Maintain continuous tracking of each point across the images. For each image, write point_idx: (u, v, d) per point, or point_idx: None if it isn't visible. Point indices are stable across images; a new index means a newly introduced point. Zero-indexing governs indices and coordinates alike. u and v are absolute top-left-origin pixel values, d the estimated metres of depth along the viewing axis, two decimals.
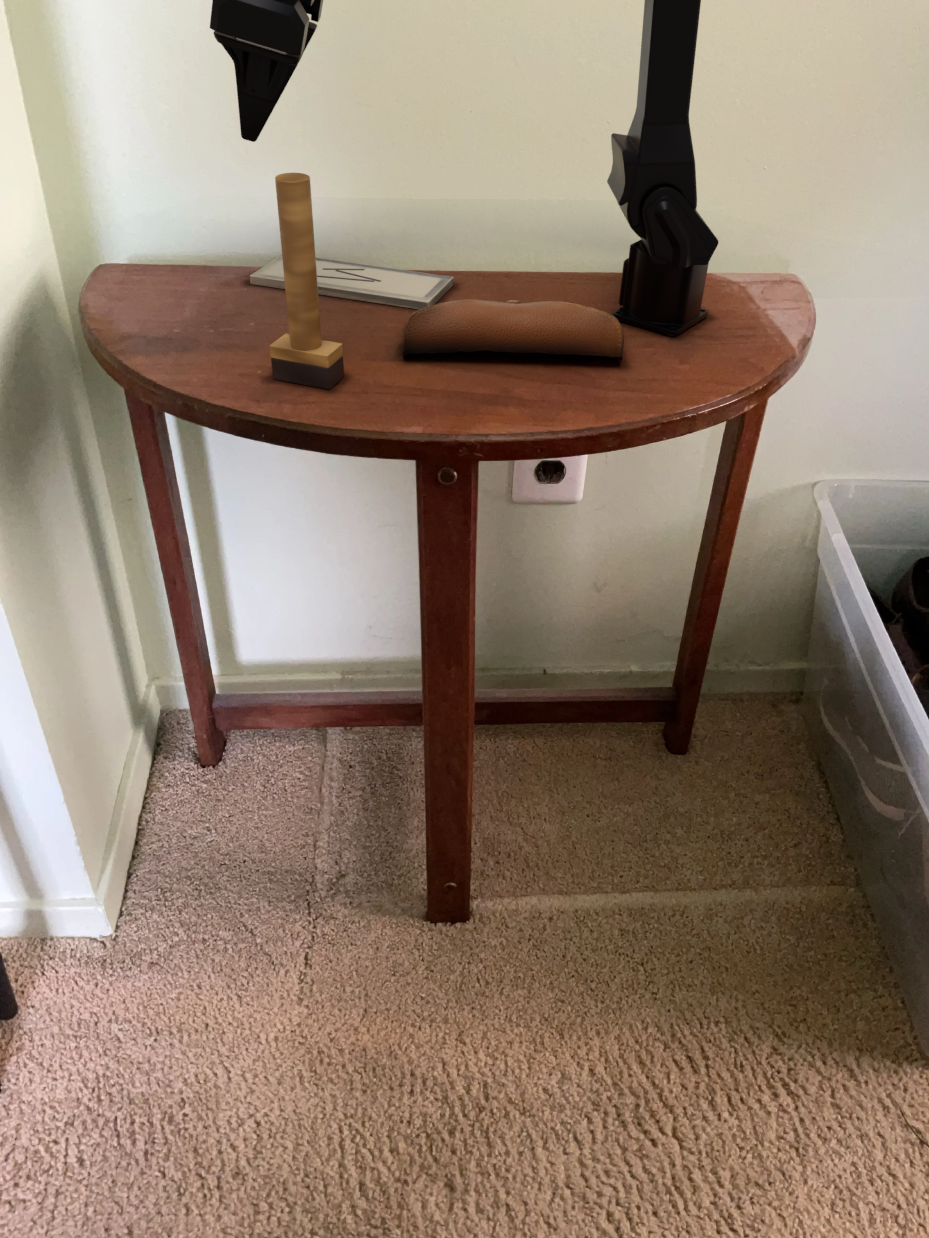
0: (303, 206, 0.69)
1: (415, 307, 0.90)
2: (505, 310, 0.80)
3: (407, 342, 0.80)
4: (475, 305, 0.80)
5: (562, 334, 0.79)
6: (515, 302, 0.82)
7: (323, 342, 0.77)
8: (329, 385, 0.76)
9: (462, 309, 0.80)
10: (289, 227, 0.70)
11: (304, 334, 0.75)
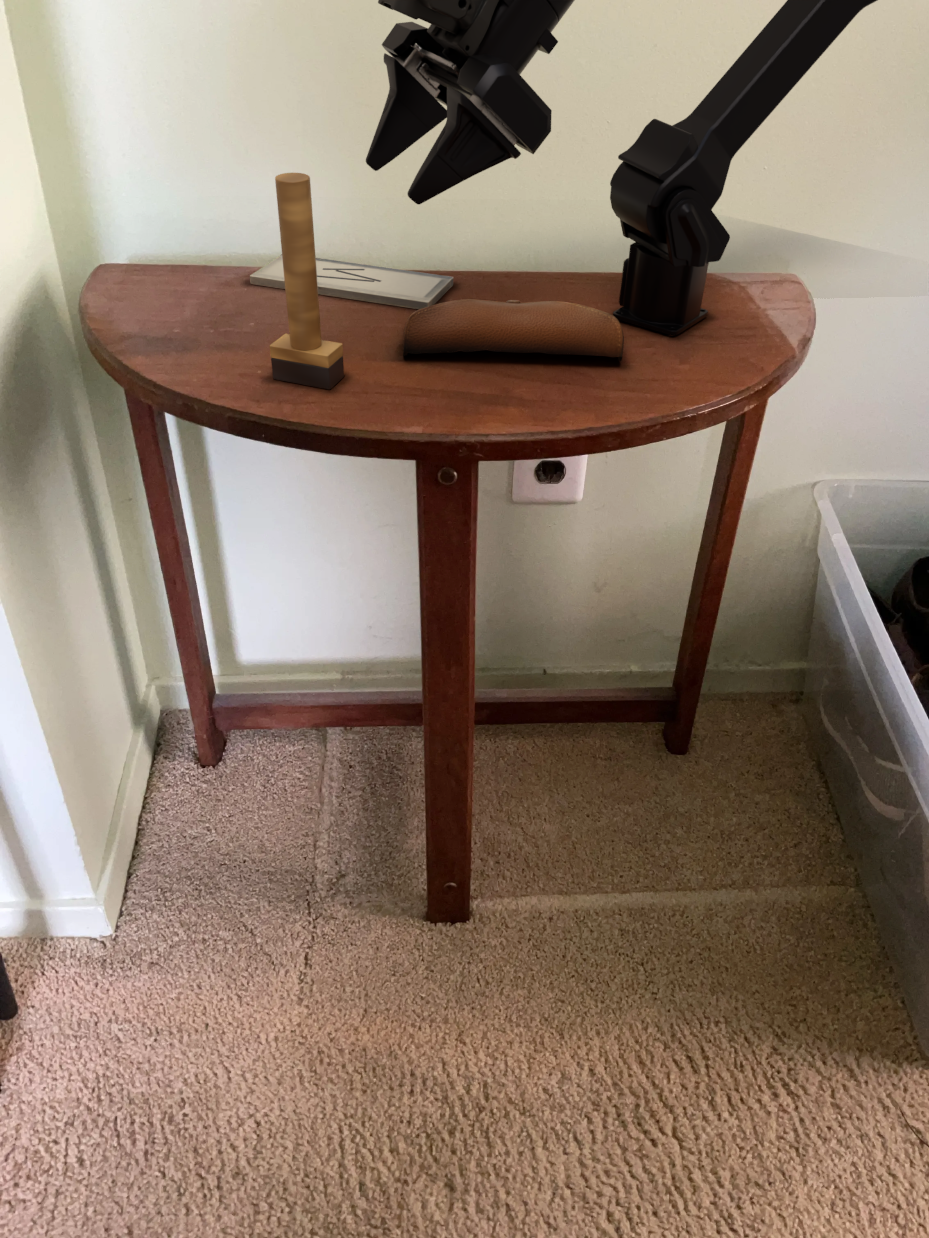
0: (303, 206, 0.69)
1: (415, 307, 0.90)
2: (505, 310, 0.80)
3: (407, 342, 0.80)
4: (475, 305, 0.80)
5: (562, 334, 0.79)
6: (515, 302, 0.82)
7: (323, 342, 0.77)
8: (329, 385, 0.76)
9: (462, 309, 0.80)
10: (289, 227, 0.70)
11: (304, 334, 0.75)
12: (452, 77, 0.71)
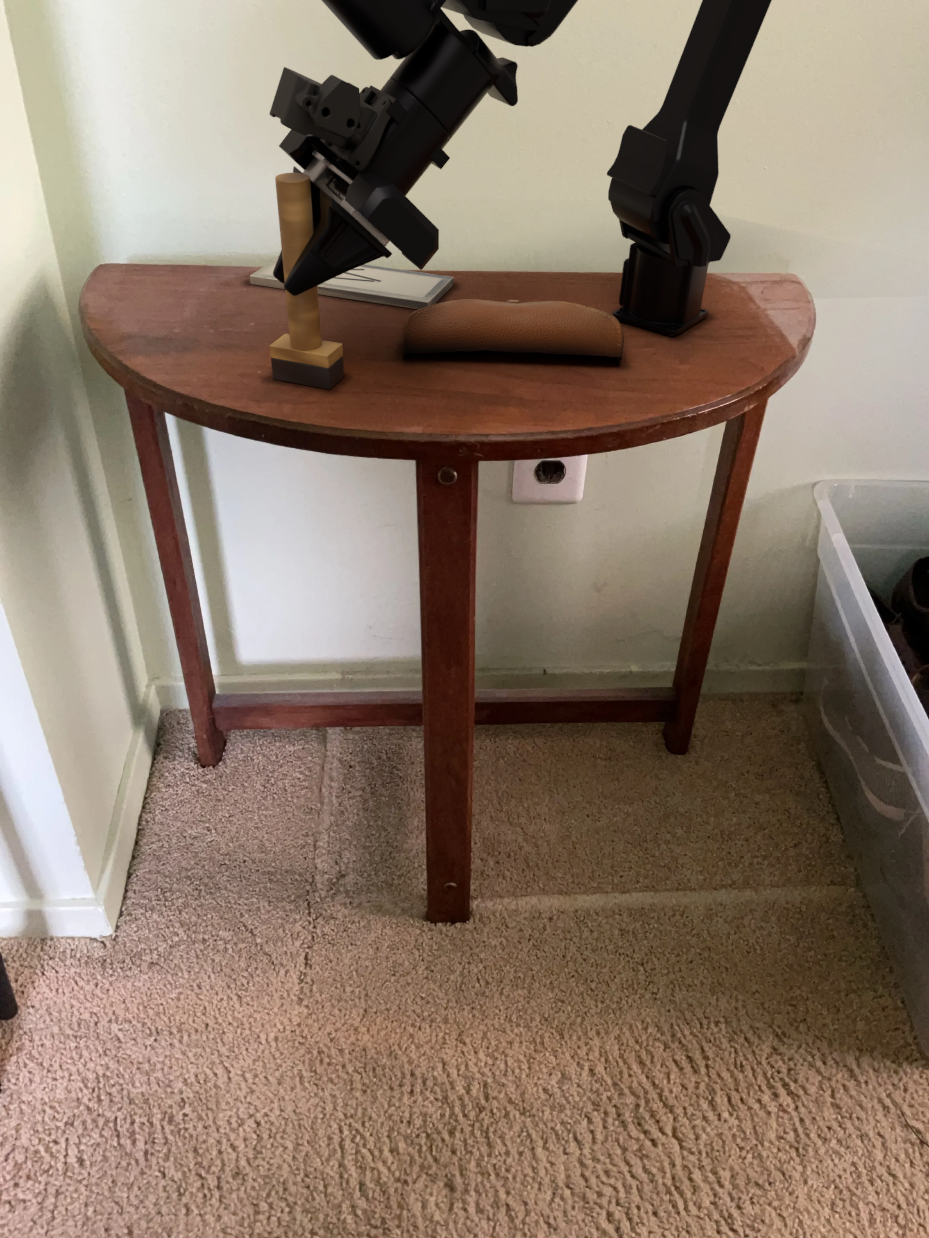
0: (303, 206, 0.69)
1: (415, 307, 0.90)
2: (505, 310, 0.80)
3: (407, 342, 0.80)
4: (475, 305, 0.80)
5: (562, 334, 0.79)
6: (515, 302, 0.83)
7: (323, 342, 0.77)
8: (329, 385, 0.76)
9: (462, 309, 0.80)
10: (289, 227, 0.70)
11: (304, 334, 0.75)
12: (345, 186, 0.72)
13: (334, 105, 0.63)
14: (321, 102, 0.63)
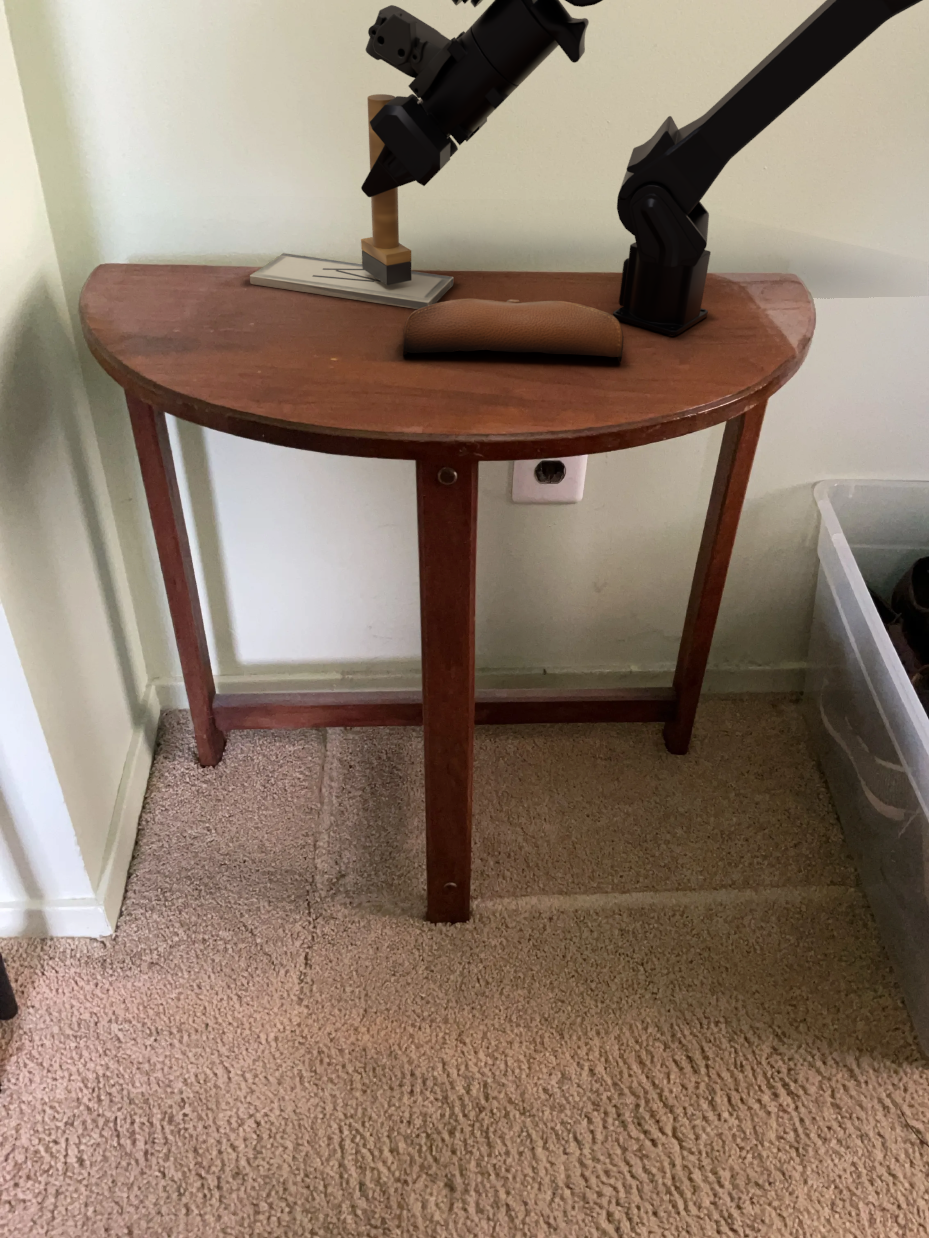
0: None
1: (415, 307, 0.90)
2: (505, 310, 0.80)
3: (407, 341, 0.80)
4: (475, 305, 0.80)
5: (561, 334, 0.79)
6: (515, 301, 0.83)
7: (399, 246, 0.91)
8: (387, 281, 0.90)
9: (462, 308, 0.80)
10: (370, 138, 0.85)
11: (377, 233, 0.89)
12: None
13: (387, 35, 0.76)
14: (377, 31, 0.77)
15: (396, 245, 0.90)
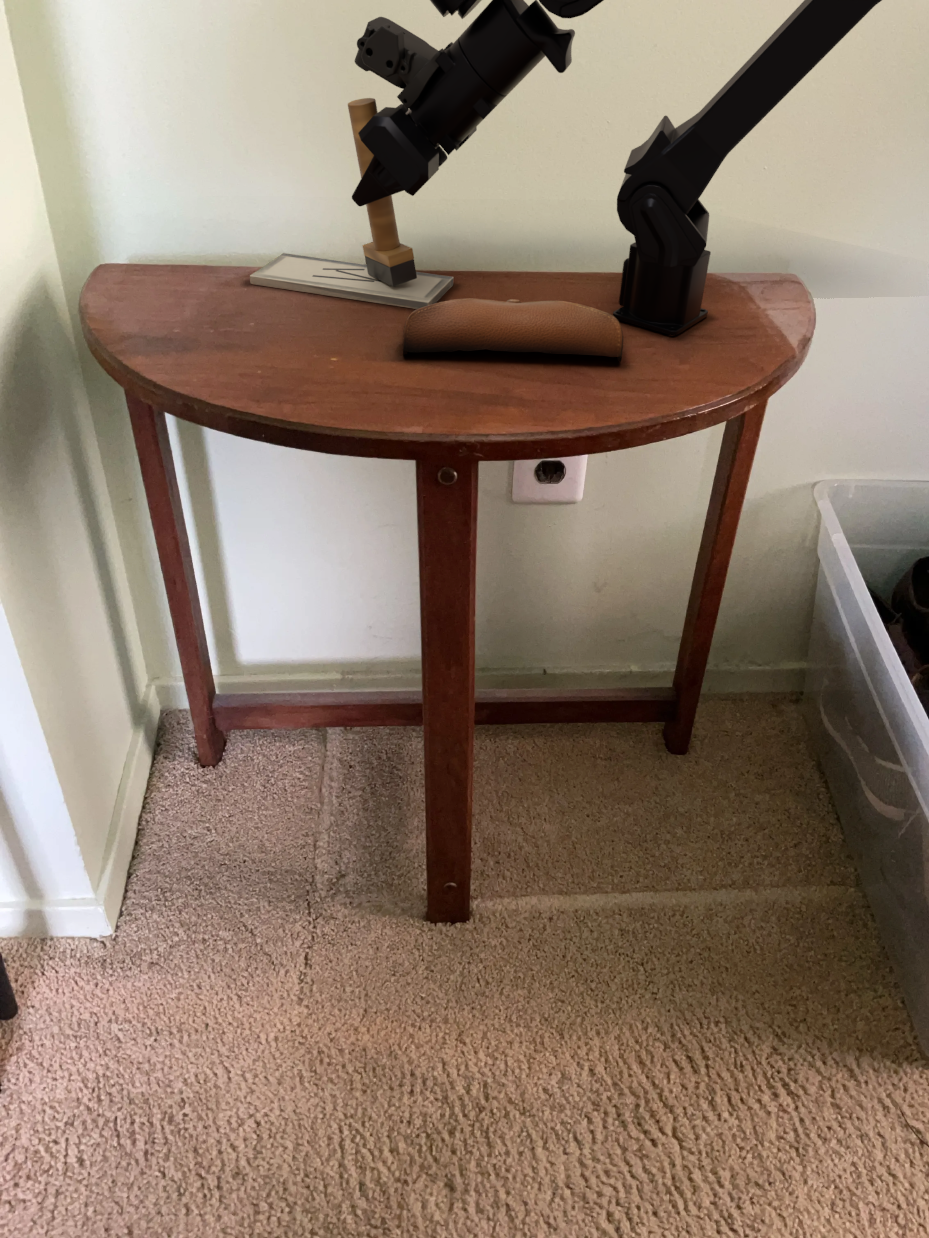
0: None
1: (415, 307, 0.90)
2: (504, 310, 0.80)
3: (407, 341, 0.80)
4: (475, 304, 0.80)
5: (561, 334, 0.79)
6: (515, 301, 0.83)
7: (400, 246, 0.91)
8: (392, 282, 0.91)
9: (462, 308, 0.80)
10: (356, 143, 0.85)
11: (377, 236, 0.90)
12: None
13: (376, 47, 0.77)
14: (365, 43, 0.77)
15: (397, 245, 0.91)
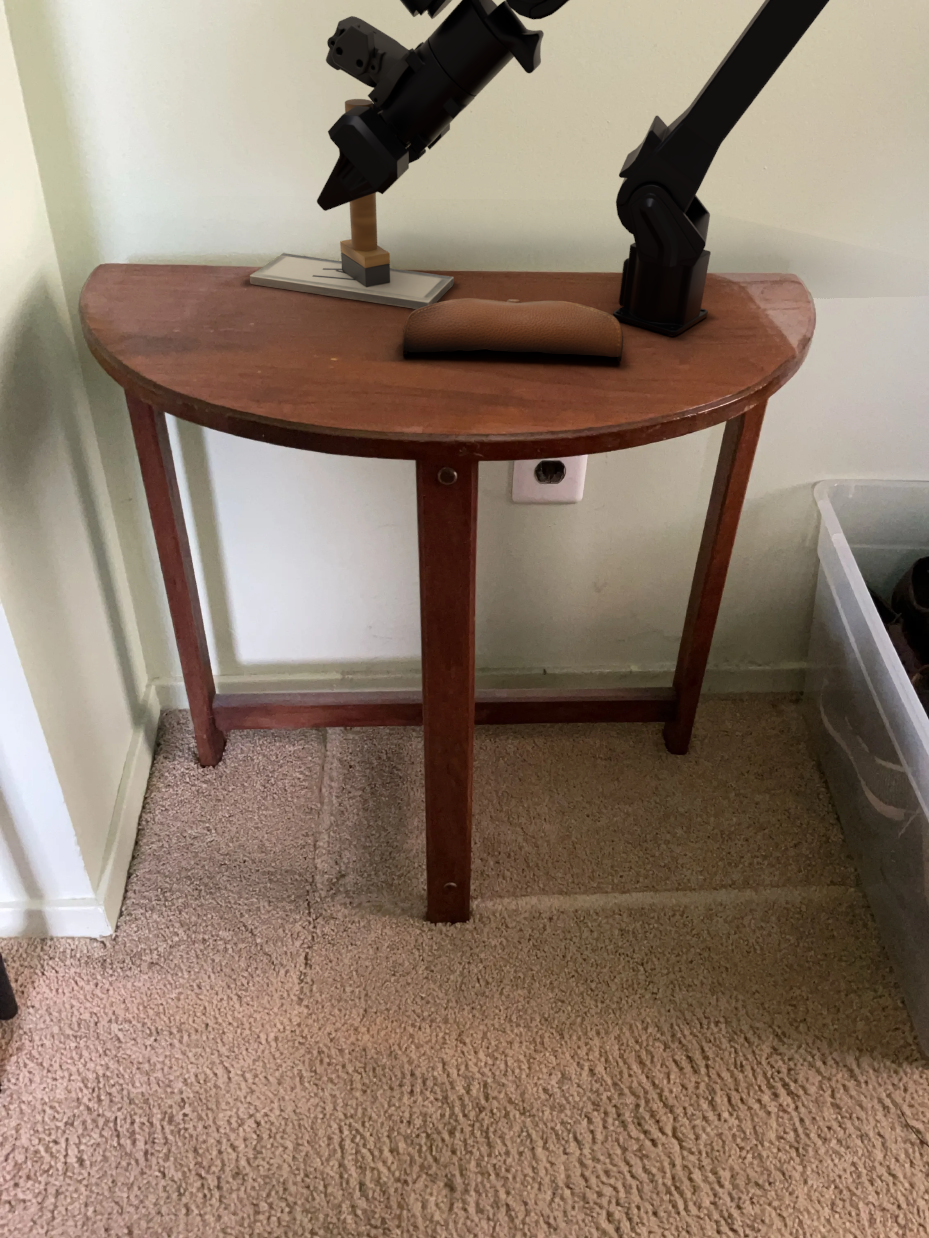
0: None
1: (415, 307, 0.90)
2: (504, 310, 0.80)
3: (407, 340, 0.80)
4: (475, 304, 0.80)
5: (561, 333, 0.79)
6: (515, 301, 0.83)
7: (377, 249, 0.92)
8: (366, 283, 0.91)
9: (462, 308, 0.80)
10: None
11: (356, 235, 0.90)
12: None
13: (346, 46, 0.78)
14: (335, 42, 0.78)
15: (375, 247, 0.91)
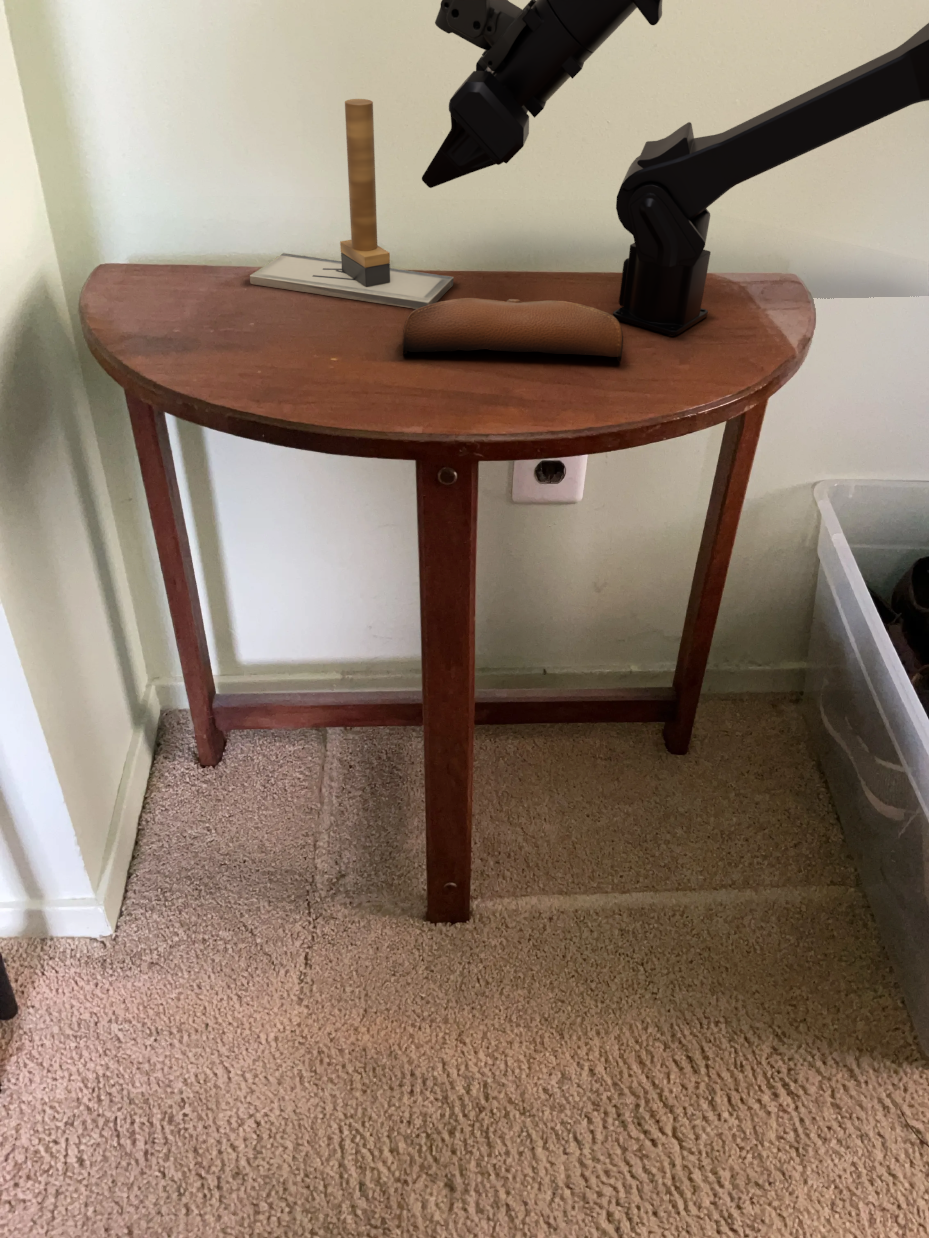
0: (358, 126, 0.85)
1: (415, 307, 0.90)
2: (504, 309, 0.80)
3: (407, 340, 0.80)
4: (475, 304, 0.80)
5: (561, 333, 0.79)
6: (515, 301, 0.83)
7: (377, 249, 0.92)
8: (366, 283, 0.91)
9: (462, 308, 0.80)
10: (348, 142, 0.86)
11: (356, 235, 0.90)
12: None
13: (462, 8, 0.74)
14: (451, 4, 0.74)
15: (374, 247, 0.91)
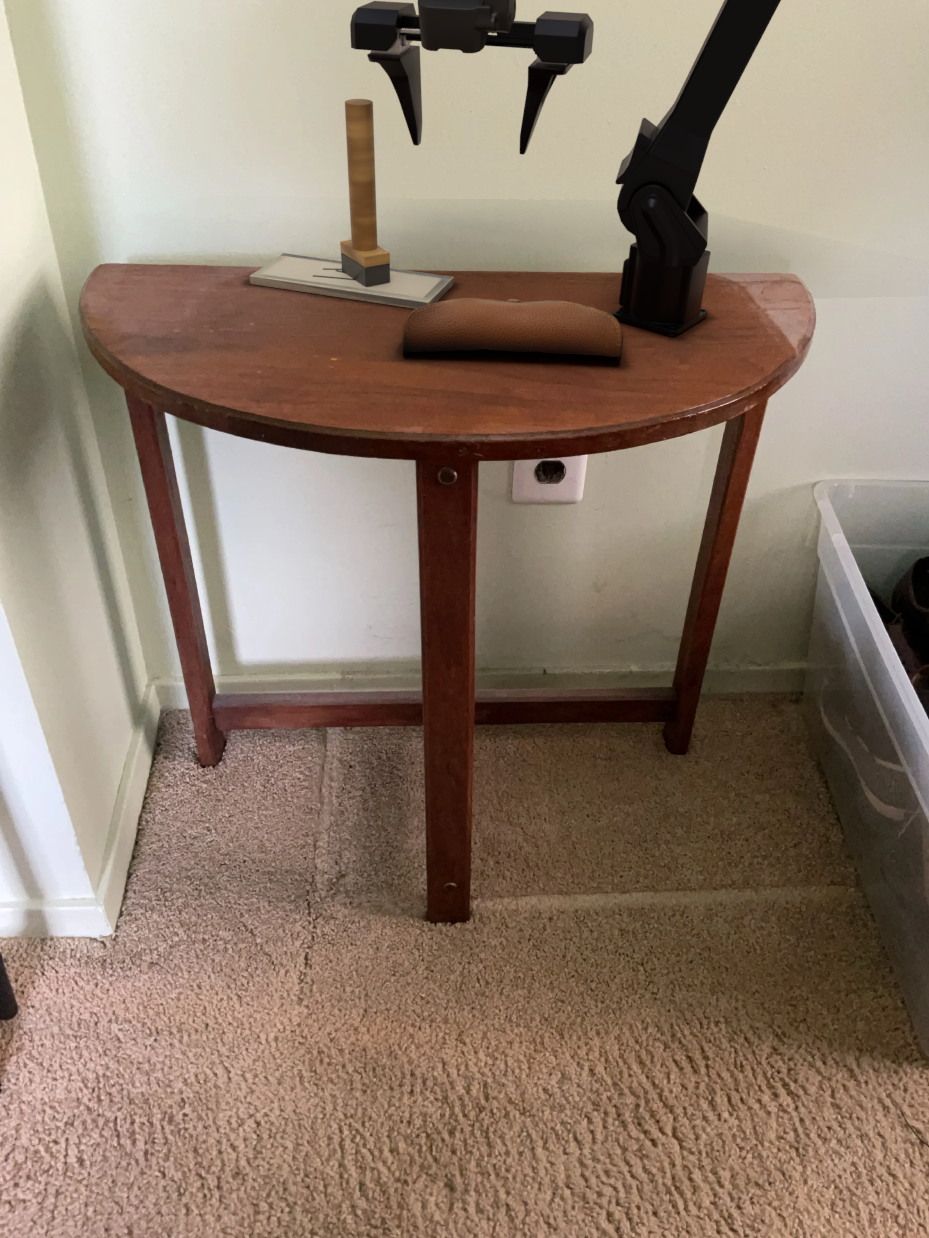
0: (358, 126, 0.85)
1: (415, 307, 0.90)
2: (504, 309, 0.80)
3: (406, 340, 0.80)
4: (474, 304, 0.80)
5: (561, 333, 0.79)
6: (515, 301, 0.83)
7: (377, 249, 0.92)
8: (366, 283, 0.91)
9: (462, 308, 0.80)
10: (348, 142, 0.86)
11: (356, 235, 0.90)
12: None
13: (511, 7, 0.71)
14: (508, 15, 0.71)
15: (374, 247, 0.91)
